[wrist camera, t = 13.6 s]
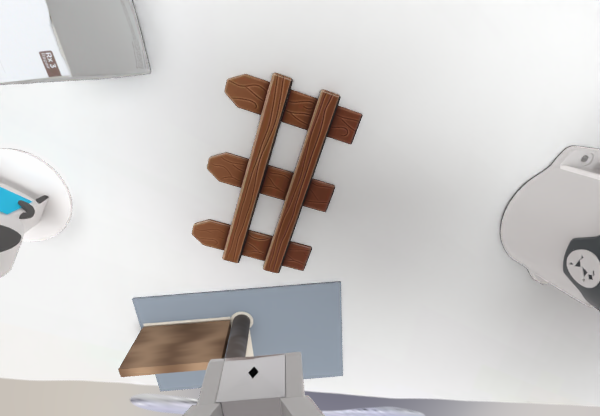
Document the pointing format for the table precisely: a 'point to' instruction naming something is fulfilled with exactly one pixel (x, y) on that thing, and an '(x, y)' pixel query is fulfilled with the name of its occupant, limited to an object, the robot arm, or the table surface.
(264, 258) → the decorative fence
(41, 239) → the white upright piece
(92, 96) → the table surface
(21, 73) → the skincare box
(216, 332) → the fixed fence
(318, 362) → the card
